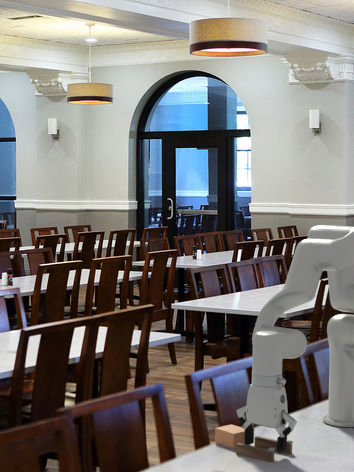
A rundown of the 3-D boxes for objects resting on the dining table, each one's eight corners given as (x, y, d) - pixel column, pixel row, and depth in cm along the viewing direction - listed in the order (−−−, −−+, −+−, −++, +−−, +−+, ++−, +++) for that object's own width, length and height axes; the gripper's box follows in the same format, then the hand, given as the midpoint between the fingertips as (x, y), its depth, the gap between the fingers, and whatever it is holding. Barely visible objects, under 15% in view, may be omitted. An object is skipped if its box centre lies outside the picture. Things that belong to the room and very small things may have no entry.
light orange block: (231, 439, 230) (231, 424, 230) (249, 445, 225) (250, 430, 225) (214, 442, 227) (215, 427, 226) (233, 449, 221) (233, 433, 221)
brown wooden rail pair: (257, 445, 224) (257, 433, 224) (292, 453, 218) (292, 440, 218) (235, 453, 216) (235, 441, 216) (271, 462, 210) (271, 449, 210)
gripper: (304, 383, 214) (302, 451, 214) (246, 373, 224) (245, 438, 225) (288, 388, 208) (286, 458, 208) (230, 377, 219) (228, 444, 219)
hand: (265, 447), depth 217 cm, fingers open, 9 cm apart
